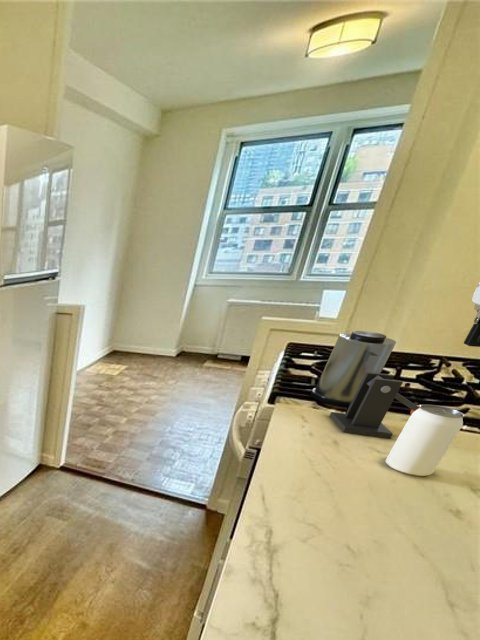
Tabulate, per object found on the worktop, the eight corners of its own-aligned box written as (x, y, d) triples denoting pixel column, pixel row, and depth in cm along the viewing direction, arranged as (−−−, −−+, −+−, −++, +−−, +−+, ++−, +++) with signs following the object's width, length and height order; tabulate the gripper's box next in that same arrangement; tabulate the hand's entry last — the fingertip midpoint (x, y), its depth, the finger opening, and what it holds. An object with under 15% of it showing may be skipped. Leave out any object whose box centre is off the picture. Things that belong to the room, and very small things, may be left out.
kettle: (355, 393, 125) (386, 329, 117) (377, 413, 114) (413, 344, 106) (302, 387, 129) (329, 325, 121) (319, 406, 118) (350, 339, 110)
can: (387, 470, 91) (420, 412, 85) (381, 456, 96) (412, 400, 90) (435, 480, 88) (473, 421, 82) (426, 466, 92) (462, 408, 87)
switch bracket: (373, 422, 110) (399, 372, 104) (390, 438, 102) (419, 386, 97) (329, 416, 112) (352, 368, 107) (343, 432, 105) (368, 381, 100)
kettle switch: (416, 419, 104) (433, 408, 102) (423, 425, 101) (440, 414, 99) (363, 384, 105) (378, 372, 103) (369, 389, 102) (385, 377, 101)
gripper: (597, 248, 78) (529, 358, 86) (535, 239, 90) (480, 337, 98) (531, 247, 81) (471, 354, 89) (479, 239, 93) (431, 334, 101)
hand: (476, 345), depth 94 cm, fingers closed
